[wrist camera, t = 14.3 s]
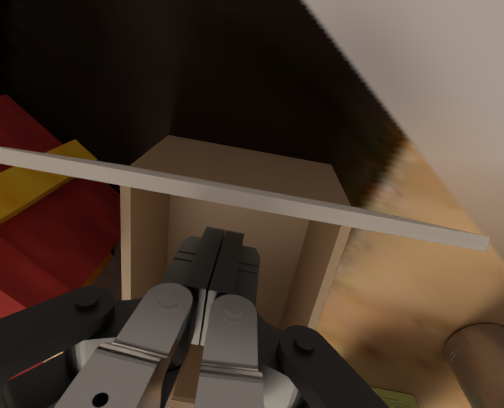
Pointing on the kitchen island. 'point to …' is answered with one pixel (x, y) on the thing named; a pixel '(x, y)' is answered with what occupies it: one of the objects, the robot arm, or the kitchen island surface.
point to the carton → (236, 219)
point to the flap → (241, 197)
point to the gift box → (49, 219)
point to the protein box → (396, 399)
